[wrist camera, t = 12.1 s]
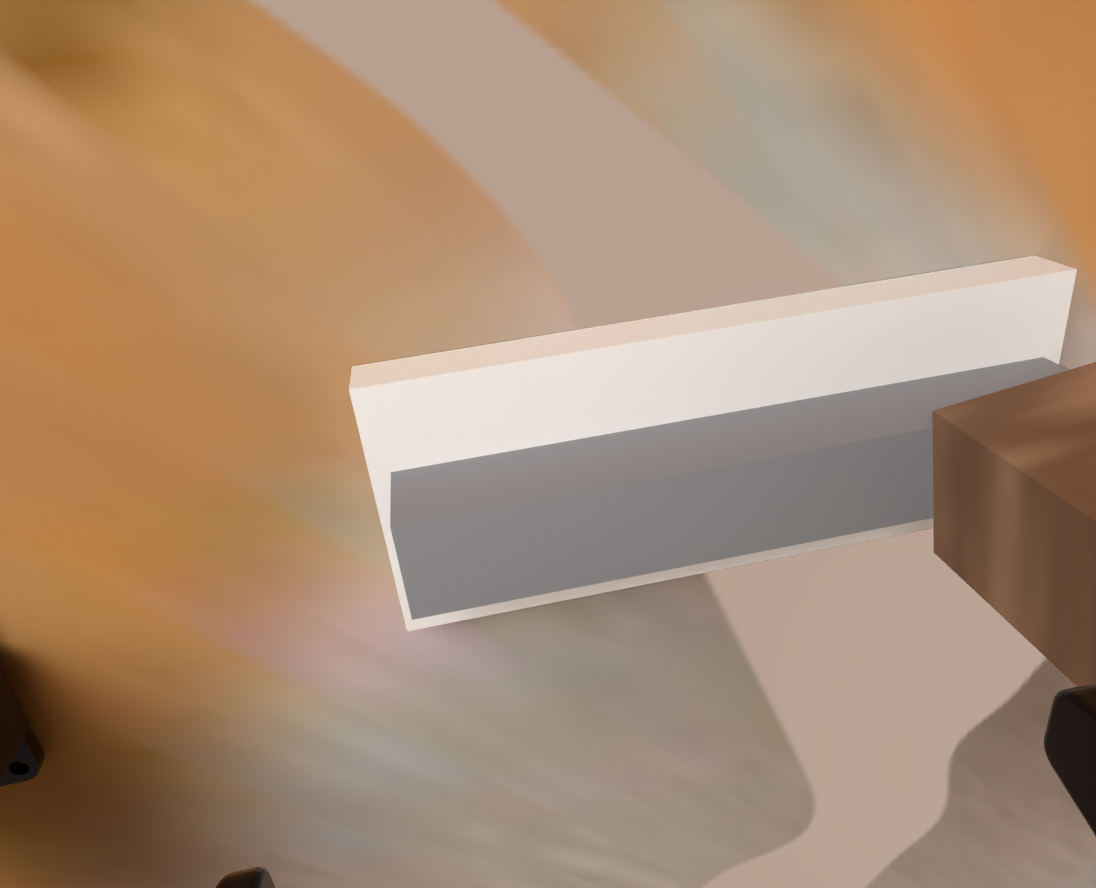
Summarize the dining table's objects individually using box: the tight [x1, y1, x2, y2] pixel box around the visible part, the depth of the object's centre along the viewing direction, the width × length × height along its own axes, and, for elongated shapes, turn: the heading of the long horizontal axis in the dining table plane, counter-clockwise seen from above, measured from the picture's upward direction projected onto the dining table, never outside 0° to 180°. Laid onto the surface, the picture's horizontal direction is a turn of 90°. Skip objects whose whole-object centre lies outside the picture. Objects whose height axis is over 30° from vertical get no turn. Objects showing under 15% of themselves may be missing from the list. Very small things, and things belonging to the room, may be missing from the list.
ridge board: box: [349, 256, 1077, 631], centre depth 20 cm, size 18×7×4 cm, turn 96°
